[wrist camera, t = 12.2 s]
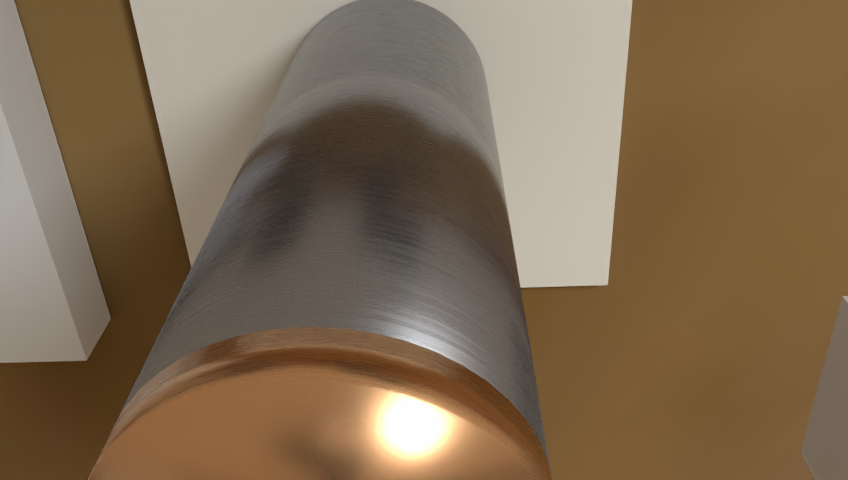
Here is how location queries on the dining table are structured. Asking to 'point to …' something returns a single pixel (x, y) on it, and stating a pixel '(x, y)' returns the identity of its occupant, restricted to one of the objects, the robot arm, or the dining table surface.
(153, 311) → the dining table surface
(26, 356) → the housing
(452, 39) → the copper top metal cylinder
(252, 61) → the pad
